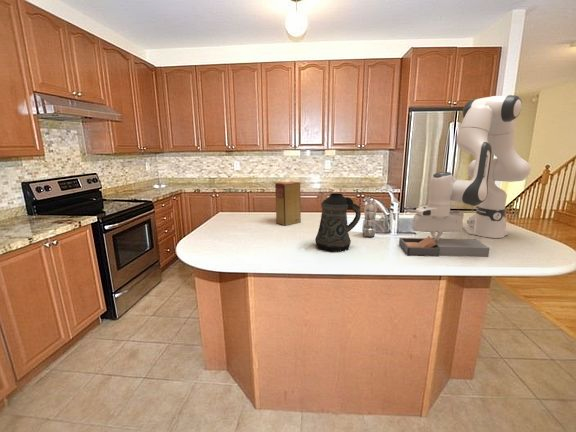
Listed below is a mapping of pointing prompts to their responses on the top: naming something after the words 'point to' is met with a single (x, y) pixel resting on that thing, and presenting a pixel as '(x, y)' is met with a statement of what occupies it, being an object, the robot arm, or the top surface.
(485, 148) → the robot arm
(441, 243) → the plate
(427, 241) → the tile
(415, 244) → the tile
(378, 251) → the top surface
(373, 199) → the plastic bottle
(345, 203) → the beer stein
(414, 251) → the box
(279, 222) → the food packaging
